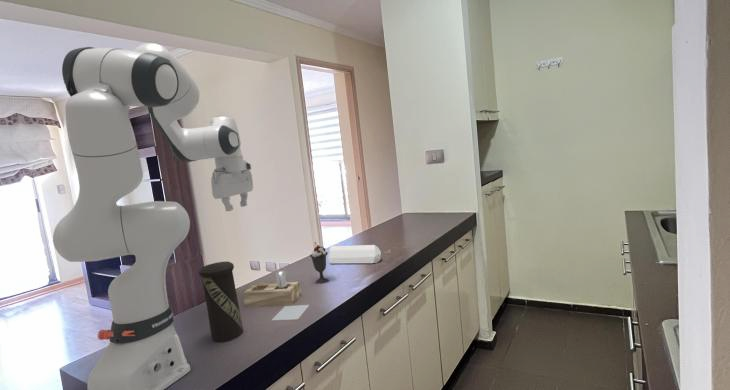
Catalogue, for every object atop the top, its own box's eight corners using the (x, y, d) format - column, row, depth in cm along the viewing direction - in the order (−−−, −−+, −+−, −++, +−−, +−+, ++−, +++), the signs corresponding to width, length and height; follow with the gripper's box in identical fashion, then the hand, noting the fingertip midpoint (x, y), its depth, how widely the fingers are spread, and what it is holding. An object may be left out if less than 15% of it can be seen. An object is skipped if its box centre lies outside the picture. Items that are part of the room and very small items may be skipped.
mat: (297, 320, 109) (297, 319, 109) (271, 321, 110) (271, 320, 110) (309, 306, 119) (309, 304, 119) (285, 307, 120) (284, 306, 120)
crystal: (321, 257, 161) (375, 256, 152) (327, 245, 167) (379, 243, 157) (328, 269, 166) (380, 269, 156) (333, 257, 171) (384, 256, 162)
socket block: (292, 305, 121) (290, 290, 120) (245, 308, 124) (242, 292, 123) (301, 296, 129) (299, 281, 128) (256, 298, 132) (254, 284, 131)
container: (214, 347, 98) (201, 271, 96) (207, 336, 106) (195, 265, 104) (248, 336, 103) (236, 262, 101) (239, 325, 111) (228, 257, 108)
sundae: (316, 285, 137) (310, 244, 136) (311, 281, 143) (305, 241, 142) (333, 281, 140) (328, 240, 138) (327, 276, 146) (322, 237, 144)
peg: (287, 303, 124) (283, 272, 123) (278, 303, 124) (274, 273, 123) (290, 299, 127) (286, 269, 126) (281, 299, 127) (277, 270, 126)
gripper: (221, 167, 117) (229, 213, 118) (253, 164, 137) (259, 203, 138) (203, 170, 118) (210, 214, 120) (237, 166, 138) (243, 204, 139)
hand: (237, 208), depth 129 cm, fingers open, 8 cm apart
